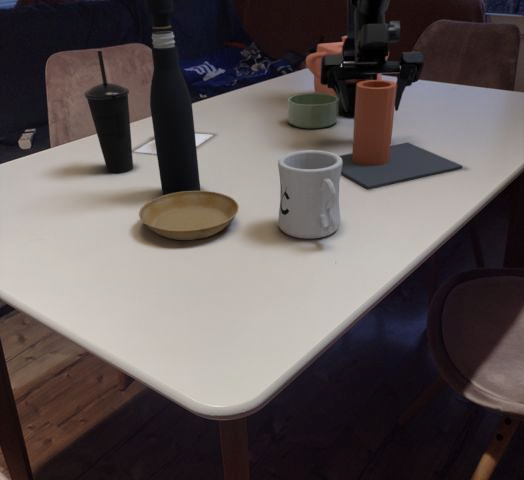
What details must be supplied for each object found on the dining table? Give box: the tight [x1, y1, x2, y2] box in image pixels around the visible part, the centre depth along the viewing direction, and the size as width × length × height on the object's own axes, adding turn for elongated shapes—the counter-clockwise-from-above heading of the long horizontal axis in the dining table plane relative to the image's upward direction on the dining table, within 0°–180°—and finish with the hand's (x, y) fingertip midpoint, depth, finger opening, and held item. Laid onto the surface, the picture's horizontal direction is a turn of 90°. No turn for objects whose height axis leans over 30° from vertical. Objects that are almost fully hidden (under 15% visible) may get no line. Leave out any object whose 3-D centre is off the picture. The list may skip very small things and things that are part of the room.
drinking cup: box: [83, 50, 134, 174], centre depth 104 cm, size 8×8×20 cm
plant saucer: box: [138, 190, 240, 241], centre depth 87 cm, size 15×15×3 cm
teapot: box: [305, 35, 390, 97], centre depth 142 cm, size 20×22×14 cm
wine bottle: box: [144, 0, 202, 196], centre depth 90 cm, size 6×6×30 cm
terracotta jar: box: [351, 79, 397, 166], centre depth 104 cm, size 7×7×13 cm
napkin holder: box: [132, 132, 214, 155], centre depth 120 cm, size 15×11×6 cm
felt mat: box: [339, 142, 463, 190], centre depth 107 cm, size 20×16×1 cm
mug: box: [277, 149, 343, 240], centre depth 82 cm, size 12×9×10 cm
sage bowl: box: [287, 92, 339, 130], centre depth 130 cm, size 11×11×5 cm
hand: (372, 110), depth 109 cm, fingers open, 9 cm apart
